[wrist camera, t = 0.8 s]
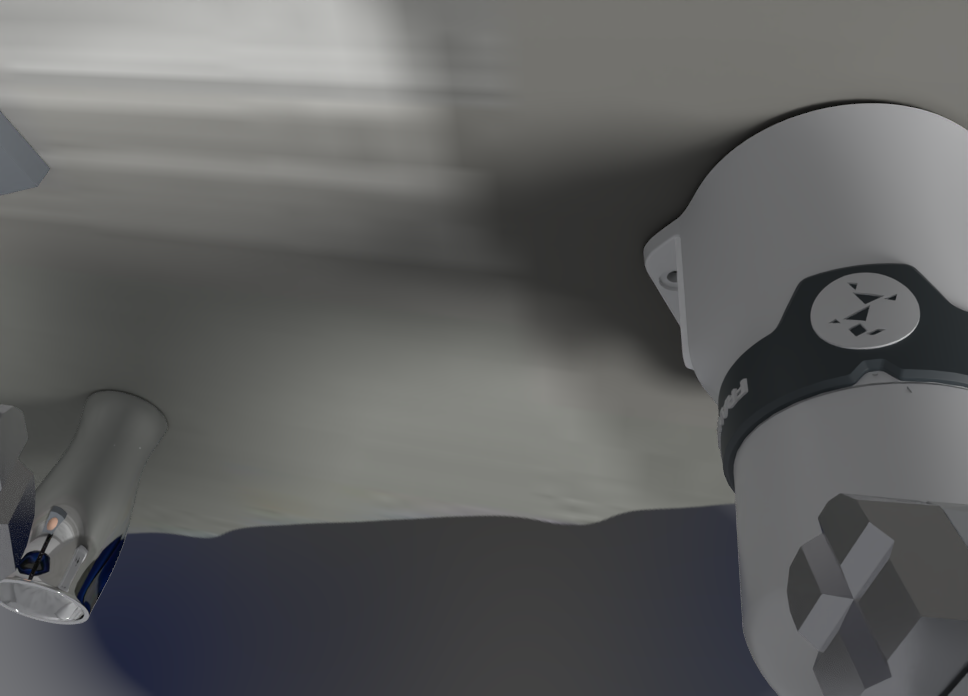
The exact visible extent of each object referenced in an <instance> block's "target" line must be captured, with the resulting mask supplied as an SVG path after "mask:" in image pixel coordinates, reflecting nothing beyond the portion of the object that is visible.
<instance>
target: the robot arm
mask: <svg viewBox="0 0 968 696" xmlns="http://www.w3.org/2000/svg"><path fill="white" fill-rule="evenodd" d="M643 255H644V263H645V268H646V271H647V272H648V274H649V276H650V277H651V279H652V281H653V282H654V284H655V286H656V287H657V289H658V291H659V292H660V294H661V296H662V297H663V299H664V301H665V302H666V304H667V306H668V307H669V309H670V311H671V312H672V314H673V316H674V317H675V319H676V321H677V322H678V324H679V326H680V327H681V341H682V353H683V359H684V363H685V366H686V367H687V368H689V369H692V370H694V371H695V374H696V376H697V378H698V380H699V382H700V383H701V385H702V386H703V388H704V389H705V390H706V391H707V393H708V394H709V395H710V396H711V398H712V399H713V400H714V401H715V403H716V404H717V405H718V409H719V417H718V422H717V426H718V427H717V435H718V447H719V449H720V451H721V458H722V462H723V470H724V475H725V477H726V479H727V482H728V484H729V486H730V487H731V489H732V490H733V491H734V493H735V500H736V518H737V536H738V555H739V571H740V588H741V606H742V622H743V632H744V636H745V639H746V642H747V645H748V648H749V650H750V652H751V655H752V657H753V659H754V661H755V663H756V665H757V666H758V668H759V670H760V672H761V673H762V675H763V676H764V678H765V679H766V680H767V682H768V683H769V685H770V686H771V687H772V688H773V689H774V690H775V692H777V694H778V695H779V696H968V131H967V130H966V129H964V128H963V127H961V126H960V125H958V124H956V123H955V122H953V121H951V120H949V119H947V118H944V117H942V116H940V115H937V114H935V113H932V112H929V111H925V110H922V109H918V108H913V107H908V106H902V105H894V104H880V103H864V104H849V105H841V106H835V107H829V108H824V109H819V110H815V111H811V112H808V113H804V114H801V115H798V116H795V117H792V118H789V119H787V120H784V121H782V122H779V123H777V124H775V125H773V126H771V127H769V128H767V129H765V130H763V131H761V132H759V133H757V134H755V135H754V136H752V137H751V138H749V139H747V140H746V141H744V142H743V143H742V144H740V145H739V146H737V147H736V148H735V149H733V150H732V151H731V152H730V153H729V154H727V155H726V156H725V157H724V158H723V159H722V160H721V161H720V162H719V163H718V164H717V165H716V166H715V167H714V168H713V169H712V170H711V171H710V173H709V174H708V175H707V176H706V178H705V179H704V180H703V182H702V183H701V185H700V186H699V188H698V190H697V191H696V193H695V195H694V197H693V198H692V200H691V202H690V203H689V205H688V207H687V208H686V210H685V211H684V212H683V213H682V215H681V216H680V217H679V218H677V219H676V220H675V221H673V222H672V223H670V224H669V225H668V226H666V227H665V228H664V229H662V230H661V231H659V232H658V233H657V234H656V235H655V236H653V237H652V238H651V239H650V240H649V241H648V243H647V244H646V245H645V247H644V250H643ZM672 271H677V273H672ZM27 440H28V434H27V429H26V424H25V418H24V413H23V411H21V410H20V409H18V408H17V407H15V406H10V405H2V404H0V581H2V580H3V579H5V578H6V577H8V576H9V575H11V574H12V573H14V572H15V571H16V569H17V567H18V565H19V563H20V560H21V558H22V556H23V554H24V551H25V549H26V547H27V544H28V540H29V536H30V532H31V528H32V524H33V520H34V516H35V496H36V491H35V483H34V475H33V473H32V472H31V471H30V470H29V469H28V468H27V467H26V466H25V465H24V464H23V463H22V462H21V461H20V460H19V459H18V457H19V455H20V454H21V452H22V450H23V448H24V446H25V444H26V442H27Z"/></svg>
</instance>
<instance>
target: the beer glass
mask: <svg viewBox="0 0 968 696" xmlns="http://www.w3.org/2000/svg"><path fill="white" fill-rule="evenodd" d="M167 427H168V425H167V421H166V419H165V417H164V415H163V414H162V413H161V412H160V411H159V410H158V409H157V408H156V407H155V406H153V405H152V404H151V403H149V402H147V401H145V400H144V399H142V398H139V397H137V396H134V395H132V394H128V393H125V392H120V391H112V390H105V391H99V392H95V393H93V394H91V395H90V396H89V397H88V398H87V400H86V402H85V404H84V408H83V411H82V415H81V418H80V422H79V425H78V428H77V431H76V433H75V436H74V438H73V440H72V441H71V443H70V445H69V446H68V448H67V450H66V451H65V453H64V454H63V455H62V457H61V458H60V459H59V461H58V462H57V463H56V464H55V466H54V467H53V468H52V469H51V471H50V472H49V473H48V475H47V476H46V477H45V478H44V480H43V481H42V482H41V484H40V485H39V486H38V487H37V489H36V490H35V491H36V496H35V516H34V520H33V524H32V528H31V532H30V536H29V540H28V544H27V547H26V549H25V551H24V554H23V556H22V558H21V560H20V563H19V565H18V567H17V569H16V571H15V572H14V573H12V574H11V575H9V576H8V577H6V578H5V579H3V580H2V581H0V605H1V606H3V607H5V608H7V609H9V610H11V611H13V612H16V613H18V614H21V615H24V616H26V617H30V618H33V619H37V620H41V621H45V622H50V623H57V624H79V623H82V622H85V621H86V620H87V619H88V618H89V615H90V613H91V611H92V609H93V607H94V605H95V603H96V601H97V600H98V598H99V596H100V594H101V592H102V590H103V589H104V587H105V585H106V583H107V581H108V579H109V577H110V575H111V573H112V571H113V568H114V566H115V564H116V562H117V560H118V557H119V555H120V552H121V549H122V547H123V544H124V541H125V538H126V534H127V531H128V527H129V524H130V520H131V515H132V511H133V507H134V503H135V498H136V494H137V489H138V485H139V482H140V478H141V475H142V472H143V469H144V467H145V465H146V463H147V461H148V459H149V457H150V455H151V454H152V452H153V451H154V449H155V448H156V447H157V445H158V444H159V442H160V441H161V439H162V438H163V437H164V435H165V433H166V431H167Z"/></svg>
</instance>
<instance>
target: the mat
mask: <svg viewBox="0 0 968 696" xmlns="http://www.w3.org/2000/svg"><path fill="white" fill-rule="evenodd" d="M49 170H50V168H49V167H48V166H47V164H46V163H45V162H44V161H43V160H42V159H41V157H40V156H39V155H38V154H37V153H36V152H35V151H34V149H33V148H32V147H31V146H30V145H29V144H28V143H27V141H26V140H25V139H24V138H23V137H22V136H21V135H20V133H19V132H18V131H17V130H16V129H15V128H14V127H13V125H12V124H11V123H10V122H9V121H8V120H7V118H6V117H5V116H4V115H3V114H2V113H1V112H0V195H4V194H8V193H12V192H17V191H21V190H25V189H29V188H33V187H38V185H39V184H40V182H41V181H42V179H43V178H44V177H45V175H46V174H47V172H48V171H49Z"/></svg>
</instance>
